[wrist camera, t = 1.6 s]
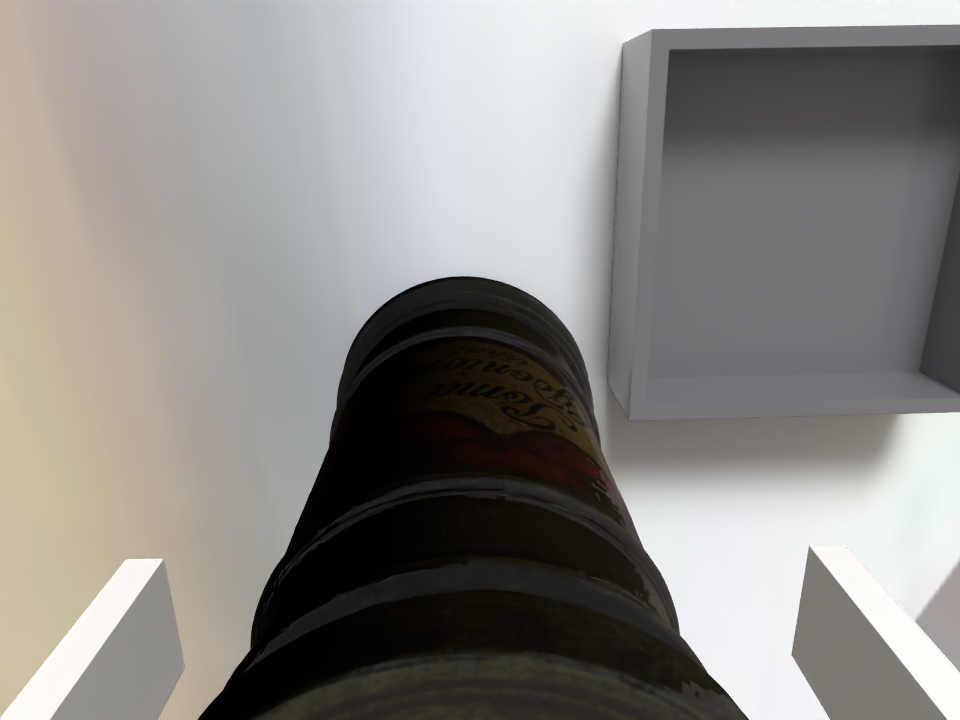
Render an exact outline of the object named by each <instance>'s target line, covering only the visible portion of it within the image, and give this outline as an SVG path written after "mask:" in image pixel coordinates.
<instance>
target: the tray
mask: <svg viewBox="0 0 960 720" xmlns="http://www.w3.org/2000/svg"><path fill="white" fill-rule="evenodd" d="M607 383H608V384H609V386H610V388H611V390H612V391H613V393H614V395H615V397H616V399H617V400H618V402H619V404H620V406H621V407H622V409H623V411H624V413H625V415H626V416H627V418H628V420H629V421H640V420H678V419H717V418H755V417H793V416H832V415H870V414H908V413H946V412H960V25H905V26H840V27H774V28H709V29H652V30H650V31H648V32H646V33H644V34H642V35H640V36H638V37H635V38H633V39H631V40H629V41H627V42H625V43H623V56H622V78H621V99H620V121H619V142H618V164H617V185H616V207H615V228H614V250H613V271H612V293H611V314H610V336H609V357H608V379H607Z"/></svg>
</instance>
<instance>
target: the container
mask: <svg viewBox="0 0 960 720" xmlns="http://www.w3.org/2000/svg"><path fill="white" fill-rule="evenodd" d="M198 720H749V719H748V718H747V717H746V716H745V714H744V713H743V712H742V711H741V710H740V708H739V707H738V706H737V705H736V703H735V702H734V701H733V700H732V698H731V697H730V696H729V695H728V693H727V692H726V691H725V690H724V689H723V688H722V687H721V686H720V685H719V684H718V683H717V682H716V681H715V680H714V679H713V678H712V677H711V676H710V675H709V674H708V673H707V671H706V669H705V668H704V666H703V665H702V663H701V662H700V660H699V659H698V657H697V656H696V655H695V653H694V652H693V651H692V649H691V648H690V647H689V645H688V644H687V643H686V642H685V640H684V639H683V638H682V637H681V636H680V631H679V624H678V619H677V614H676V611H675V607H674V604H673V601H672V598H671V595H670V592H669V590H668V587H667V585H666V583H665V581H664V579H663V577H662V575H661V573H660V571H659V570H658V569H657V567H656V565H655V564H654V562H653V561H652V560H651V558H650V557H649V555H648V554H647V553H646V551H645V550H644V548H643V546H642V544H641V541H640V539H639V536H638V534H637V532H636V529H635V527H634V524H633V521H632V518H631V516H630V514H629V512H628V509H627V507H626V505H625V503H624V500H623V498H622V496H621V494H620V492H619V490H618V488H617V486H616V484H615V481H614V479H613V477H612V475H611V473H610V470H609V467H608V465H607V463H606V460H605V458H604V456H603V453H602V451H601V443H600V435H599V430H598V426H597V422H596V419H595V416H594V407H593V398H592V393H591V388H590V384H589V380H588V375H587V371H586V367H585V363H584V360H583V358H582V355H581V353H580V350H579V348H578V346H577V344H576V342H575V340H574V338H573V337H572V335H571V333H570V332H569V330H568V329H567V328H566V326H565V325H564V324H563V323H562V322H561V320H560V319H559V318H558V317H557V316H556V315H555V314H554V313H553V312H552V311H551V310H550V309H549V308H548V307H546V306H545V305H544V304H543V303H542V302H540V301H539V300H538V299H536V298H535V297H533V296H531V295H530V294H528V293H526V292H524V291H522V290H520V289H518V288H516V287H514V286H511V285H508V284H505V283H503V282H499V281H495V280H491V279H486V278H480V277H469V276H460V277H447V278H441V279H436V280H432V281H428V282H425V283H421V284H419V285H416V286H414V287H411V288H409V289H407V290H405V291H403V292H401V293H400V294H398V295H396V296H395V297H393V298H392V299H390V300H389V301H387V302H386V303H385V304H384V305H382V306H381V307H380V308H379V309H378V310H377V311H376V312H375V313H374V314H373V315H372V316H371V317H370V318H369V319H368V320H367V322H366V323H365V324H364V325H363V327H362V328H361V330H360V331H359V333H358V334H357V336H356V338H355V339H354V341H353V343H352V345H351V348H350V350H349V352H348V355H347V358H346V362H345V365H344V370H343V373H342V376H341V379H340V383H339V388H338V395H337V409H336V412H335V415H334V418H333V422H332V426H331V432H330V443H329V449H328V451H327V453H326V456H325V458H324V461H323V463H322V466H321V468H320V471H319V473H318V476H317V478H316V481H315V483H314V486H313V488H312V490H311V492H310V494H309V497H308V499H307V502H306V504H305V507H304V509H303V511H302V514H301V516H300V519H299V521H298V523H297V525H296V528H295V530H294V533H293V536H292V538H291V541H290V543H289V546H288V548H287V551H286V553H285V555H284V556H283V558H282V559H281V560H280V562H279V563H278V564H277V566H276V567H275V569H274V571H273V572H272V574H271V576H270V578H269V580H268V582H267V584H266V586H265V588H264V590H263V593H262V595H261V597H260V600H259V603H258V606H257V609H256V612H255V616H254V621H253V624H252V631H251V650H250V651H249V652H248V654H247V655H246V656H245V658H244V659H243V660H242V662H241V663H240V664H239V665H238V666H237V668H236V669H235V671H234V672H233V674H232V676H231V677H230V679H229V680H228V682H227V684H226V686H225V687H224V689H223V691H222V692H221V693H220V694H219V695H218V696H217V697H216V698H215V699H214V700H213V701H212V702H211V704H210V705H209V706H208V707H207V708H206V710H205V711H204V712H203V713H202V714H201V716H200V717H199V718H198Z"/></svg>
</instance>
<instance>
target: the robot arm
mask: <svg viewBox="0 0 960 720" xmlns="http://www.w3.org/2000/svg"><path fill="white" fill-rule="evenodd" d="M792 656H793V658H794V660H795V661H796V663H797V665H798V666H799V668H800V670H801V671H802V673H803V675H804V676H805V678H806V680H807V681H808V683H809V685H810V686H811V688H812V690H813V691H814V693H815V695H816V696H817V698H818V700H819V701H820V703H821V705H822V706H823V708H824V710H825V711H826V713H827V715H828V716H829V718H830V720H960V672H959V671H958V670H957V669H956V668H955V667H954V666H953V664H952V663H951V662H950V661H949V660H948V659H947V658H946V656H944V654H943V653H942V652H941V651H940V650H939V649H938V648H937V646H936V645H935V644H934V643H933V642H932V641H931V640H930V638H929V637H928V636H927V635H926V634H925V633H924V632H923V631H922V629H921V628H920V627H919V626H918V625H917V624H916V623H915V621H914V620H913V619H912V618H911V617H910V616H909V615H908V614H907V612H906V611H905V610H904V609H903V608H902V607H901V606H900V605H899V603H898V602H897V601H896V600H895V599H894V598H893V597H892V595H891V594H890V593H889V592H888V591H887V590H886V589H885V588H884V586H883V585H882V584H881V583H880V582H879V581H878V580H877V579H876V577H875V576H874V575H873V574H872V573H871V572H870V571H869V569H868V568H867V567H866V566H865V565H864V564H863V563H862V562H861V560H860V559H859V558H858V557H857V556H856V555H855V554H854V553H853V551H852V550H851V549H850V548H849V547H848V546H847V545H817V546H809V550H808V556H807V562H806V569H805V575H804V581H803V587H802V593H801V599H800V605H799V612H798V618H797V624H796V630H795V636H794V642H793V648H792ZM184 668H185V664H184V659H183V654H182V649H181V644H180V639H179V634H178V629H177V623H176V618H175V613H174V608H173V603H172V598H171V593H170V588H169V583H168V578H167V572H166V567H165V562H164V559H126V560H125V561H124V563H123V564H122V565H121V566H120V568H119V569H118V570H117V571H116V573H115V574H114V575H113V576H112V578H111V579H110V580H109V581H108V583H107V584H106V585H105V587H104V588H103V589H102V590H101V592H100V593H99V594H98V595H97V597H96V598H95V599H94V600H93V602H92V603H91V604H90V605H89V607H88V608H87V609H86V610H85V612H84V613H83V614H82V616H81V617H80V618H79V619H78V621H77V622H76V623H75V624H74V626H73V627H72V628H71V629H70V631H69V632H68V633H67V634H66V636H65V637H64V638H63V639H62V641H61V642H60V643H59V644H58V646H57V647H56V648H55V650H54V651H53V652H52V653H51V655H50V656H49V657H48V658H47V660H46V661H45V662H44V663H43V665H42V666H41V667H40V668H39V670H38V671H37V672H36V673H35V675H34V676H33V677H32V679H31V680H30V681H29V682H28V684H27V685H26V686H25V687H24V689H23V690H22V691H21V692H20V694H19V695H18V696H17V697H16V699H15V700H14V701H13V702H12V704H11V705H10V706H9V707H8V709H7V710H6V711H5V713H4V714H3V715H2V716H1V718H0V720H158V718H159V716H160V714H161V712H162V710H163V708H164V706H165V704H166V702H167V701H168V699H169V697H170V695H171V693H172V691H173V689H174V687H175V685H176V684H177V682H178V680H179V678H180V676H181V674H182V672H183V670H184Z"/></svg>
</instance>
